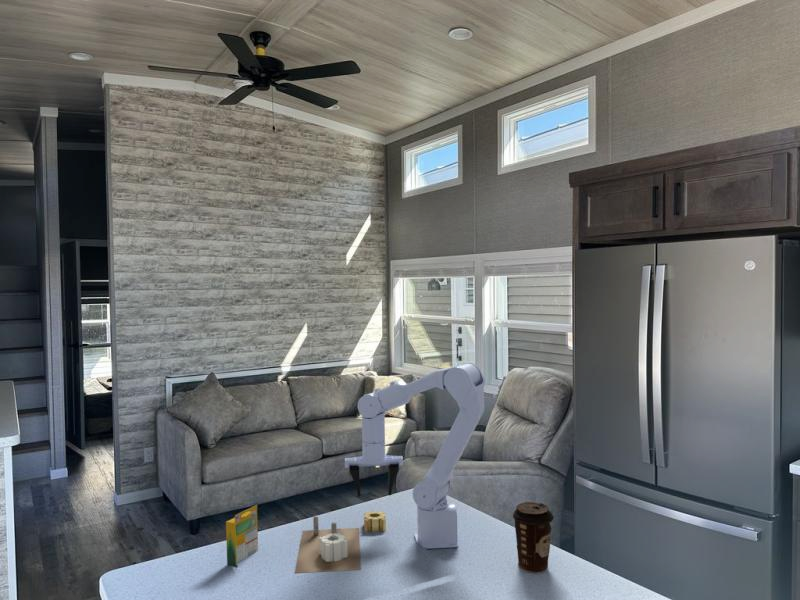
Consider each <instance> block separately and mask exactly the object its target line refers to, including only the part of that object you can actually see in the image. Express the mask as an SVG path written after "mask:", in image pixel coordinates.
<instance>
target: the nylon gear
mask: <svg viewBox="0 0 800 600" xmlns="http://www.w3.org/2000/svg"><path fill="white" fill-rule="evenodd" d="M331 535H336V540H334V541H331V540H330V536H331ZM319 554H321V557H322V559H323V560H325V561H326V562H330V561H331V562H332V561H338V560H341V559H343V558H347V556H348V540H345V537H344V536H343V535H341V534H340V533H337V534H336V533H334V534H327V535H326V536H323V537H320V538H319Z"/></svg>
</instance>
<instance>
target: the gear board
mask: <svg viewBox="0 0 800 600" xmlns="http://www.w3.org/2000/svg"><path fill="white" fill-rule="evenodd" d="M312 518H313V529H312V530H311V529H310V530H302V533H301V537H300V542H299V546H298V547H299V548H298V553H297V557H296V564H295V568H294V574H309V573H310V574H311V573H324V572H325V573H327V572H344V571H345V572H346V571H347V572H348V571H359V570H360V571H361V570H362V567H361V566H362V565H361V543H360V542H361V541H360V528H359V527H352V528H351V527H350V528H337V522H335V521H334V522H331V527H330V529H327V528H326V529H319V516H318V515H314V516H313V517H312ZM334 533H336V534H337V533H340V534H341V535H343V536H344V537H345V540H348V556H347V558H343V559H341V560H338V561H332V562H331V561H330V562H326V561H325V560H323V559H322V557H321V554H319V538H320V537H323V536H326V535H327V534H334ZM330 540H331V541H334V540H336V535H331V536H330Z"/></svg>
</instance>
